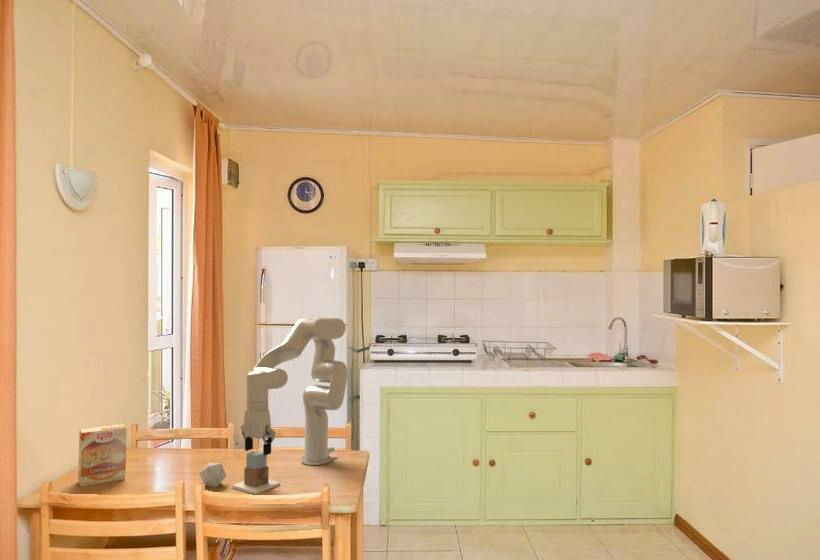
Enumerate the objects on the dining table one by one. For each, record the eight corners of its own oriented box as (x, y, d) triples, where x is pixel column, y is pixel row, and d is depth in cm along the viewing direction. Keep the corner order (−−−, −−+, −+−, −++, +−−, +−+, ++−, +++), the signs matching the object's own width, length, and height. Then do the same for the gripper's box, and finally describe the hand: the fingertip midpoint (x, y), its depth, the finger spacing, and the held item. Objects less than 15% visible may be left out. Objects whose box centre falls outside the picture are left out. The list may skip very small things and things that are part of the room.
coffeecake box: (79, 487, 201) (81, 432, 202) (77, 481, 207) (78, 428, 208) (126, 479, 210) (127, 427, 211) (122, 474, 216) (123, 423, 216)
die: (230, 484, 207) (223, 460, 212) (224, 480, 200) (217, 454, 204) (208, 494, 205) (201, 469, 210) (201, 489, 198) (195, 464, 202)
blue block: (257, 464, 207) (257, 450, 207) (266, 466, 205) (266, 452, 205) (246, 467, 203) (246, 453, 203) (255, 470, 200) (256, 456, 200)
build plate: (257, 478, 212) (257, 476, 212) (280, 484, 205) (280, 482, 205) (231, 487, 202) (231, 485, 202) (254, 494, 195) (254, 491, 195)
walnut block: (257, 479, 208) (257, 463, 208) (268, 482, 205) (268, 466, 205) (244, 484, 203) (244, 467, 203) (255, 487, 200) (255, 470, 200)
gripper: (233, 404, 206) (233, 450, 206) (266, 410, 197) (266, 459, 197) (249, 400, 212) (250, 445, 212) (282, 406, 203) (282, 453, 203)
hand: (258, 452), depth 205 cm, fingers open, 9 cm apart
